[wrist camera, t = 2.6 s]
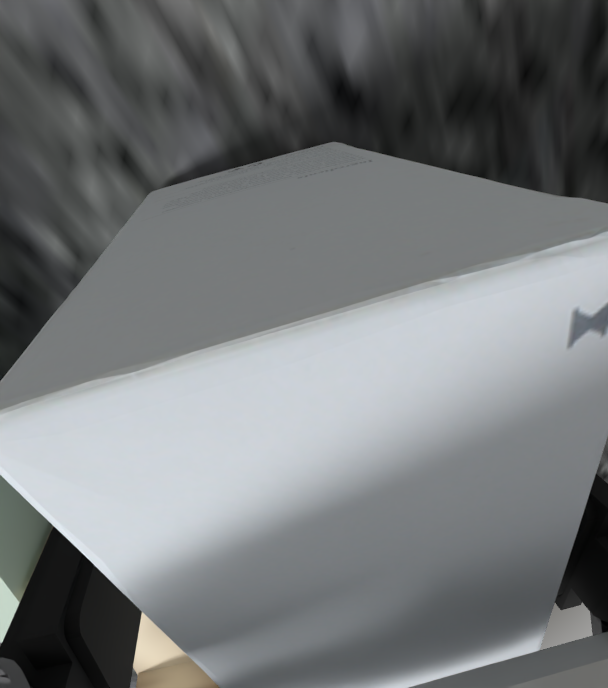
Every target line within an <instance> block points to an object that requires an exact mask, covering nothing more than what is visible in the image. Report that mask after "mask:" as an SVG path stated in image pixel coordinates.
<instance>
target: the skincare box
mask: <svg viewBox="0 0 608 688" xmlns="http://www.w3.org/2000/svg"><path fill="white" fill-rule="evenodd" d="M607 436H608V203H603V202H598V201H593V200H588V199H584V198H571V197H564V196H557V195H552V194H548V193H543V192H538V191H533V190H528V189H524V188H520V187H516V186H512V185H507V184H503V183H499V182H495V181H492V180H488V179H484V178H480V177H475V176H471V175H467V174H462V173H458V172H454V171H450V170H446V169H442V168H438V167H434V166H430V165H426V164H421V163H417V162H413V161H409V160H405V159H400V158H396V157H392V156H388V155H384V154H380V153H377V152H373V151H367V150H365V149H358V148H355V147H353V146H348V145H347V144H343V143H338V142H330V143H326V144H323V145H319V146H315V147H311V148H308V149H304V150H300V151H296V152H292V153H289V154H285V155H281V156H277V157H274V158H270V159H266V160H263V161H259V162H255V163H252V164H248V165H244V166H241V167H237V168H233V169H229V170H226V171H222V172H218V173H215V174H211V175H207V176H204V177H200V178H197V179H193V180H189V181H186V182H183V183H179V184H176V185H172V186H169V187H165V188H162V189H159V190H156V191H153V192H151V193H150V194H148V196H147V197H146V198H145V200H144V201H143V202H142V204H141V205H140V206H139V207H138V208H137V210H136V211H135V212H134V214H133V215H132V216H131V218H130V219H129V220H128V222H127V223H126V224H125V225H124V226H123V228H122V229H121V230H120V231H119V233H118V234H117V236H116V237H115V238H114V240H113V241H112V242H111V243H110V245H109V246H108V247H107V248H106V250H105V251H104V252H103V253H102V255H101V256H100V257H99V258H98V260H97V261H96V262H95V264H94V265H93V266H92V267H91V269H90V270H89V271H88V272H87V274H86V275H85V276H84V277H83V279H82V280H81V281H80V283H79V284H78V285H77V287H76V288H75V289H74V290H73V291H72V292H71V293H70V295H69V296H68V297H67V299H66V300H65V301H64V302H63V304H62V305H61V306H60V307H59V308H58V309H57V311H56V312H55V313H54V314H53V315H52V317H51V318H50V319H49V321H48V322H47V323H46V324H45V326H44V327H43V328H42V329H41V331H40V332H39V333H38V335H37V336H36V337H35V338H34V340H33V341H32V342H31V344H30V345H29V346H28V347H27V349H26V350H25V351H24V352H23V354H22V355H21V356H20V357H19V359H18V360H17V361H16V362H15V364H14V365H13V366H12V368H11V369H10V370H9V371H8V373H7V374H6V375H5V376H4V378H3V379H2V380H1V381H0V475H1V476H2V477H3V478H4V479H5V480H6V481H7V482H8V483H9V484H10V485H11V486H12V487H13V488H15V489H16V490H17V491H18V492H19V493H20V494H21V495H22V496H23V497H24V498H25V499H26V500H27V501H28V502H29V503H30V504H31V505H32V506H33V507H34V508H35V509H36V510H37V511H38V512H39V513H41V514H42V515H43V516H44V517H45V518H46V519H47V520H48V521H49V522H50V523H51V524H52V525H53V526H54V527H55V528H56V529H57V530H58V531H59V532H60V533H62V534H63V535H64V536H65V537H66V538H67V539H68V540H69V541H70V542H71V543H72V544H73V545H74V546H75V547H76V548H77V549H78V550H79V551H80V552H81V553H82V554H83V555H84V556H86V557H87V558H88V559H89V560H90V561H91V562H92V563H93V564H94V565H95V566H96V567H97V568H98V569H99V570H100V571H101V572H102V573H103V574H104V575H105V576H106V577H107V578H108V579H109V580H110V581H111V582H112V583H113V584H114V585H115V586H116V587H117V588H118V589H119V590H120V591H121V592H122V593H123V594H124V595H125V596H127V597H128V598H129V599H130V600H131V601H132V602H133V603H134V604H135V605H136V606H137V607H138V608H139V609H140V610H141V611H142V612H143V613H144V614H145V615H146V616H147V617H148V618H149V619H150V620H151V621H152V622H153V623H154V624H155V625H156V626H157V627H158V628H159V629H160V630H161V631H163V632H164V633H165V634H166V635H167V636H168V637H169V638H170V639H171V640H172V641H173V642H174V643H175V644H176V645H177V646H178V647H179V648H180V649H181V650H182V651H183V652H184V653H186V654H187V655H188V656H189V657H190V658H191V659H192V660H193V661H194V662H195V663H196V664H197V665H198V666H199V667H200V668H201V669H202V670H203V671H204V672H205V673H206V674H207V675H208V676H209V677H210V678H211V679H212V680H213V681H214V682H215V683H216V684H217V685H218V686H219V687H220V688H409V687H412V686H416V685H419V684H423V683H426V682H430V681H433V680H437V679H440V678H444V677H447V676H451V675H454V674H458V673H461V672H465V671H468V670H472V669H475V668H479V667H482V666H486V665H489V664H493V663H496V662H500V661H504V660H507V659H511V658H514V657H518V656H522V655H525V654H529V653H532V652H536V651H540V647H541V644H542V641H543V637H544V634H545V631H546V628H547V624H548V622H549V618H550V615H551V612H552V609H553V606H554V603H555V600H556V597H557V593H558V590H559V587H560V584H561V581H562V578H563V575H564V572H565V569H566V566H567V563H568V560H569V557H570V554H571V550H572V547H573V544H574V541H575V538H576V535H577V532H578V529H579V526H580V522H581V519H582V516H583V513H584V510H585V507H586V503H587V500H588V497H589V494H590V491H591V487H592V484H593V481H594V478H595V475H596V472H597V468H598V465H599V462H600V459H601V455H602V452H603V449H604V446H605V443H606V439H607Z"/></svg>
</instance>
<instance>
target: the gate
mask: <svg viewBox="0 0 608 688" xmlns="http://www.w3.org/2000/svg"><path fill="white" fill-rule="evenodd" d="M52 527H53V525H52V524H51V523H50V522H49V521H48V520H47V519H46V518H45V517H44V516H43V515H42V514H41V513H39V512H38V511H37V510H36V509H35V508H34V507H33V506H32V505H31V504H30V503H29V502H28V501H27V500H26V499H25V498H24V497H23V496H22V495H21V494H20V493H19V492H18V491H17V490H16V489H15V488H13V487H12V486H11V485H10V484H9V483H8V482H7V481H6V480H5V479H4V478H3V477H2V476H1V475H0V642H1V643H2V642H3V639H4V637H5V635H6V633H7V630H8V628H9V626H10V624H11V621H12V619H13V617H14V614H15V612H16V610H17V608H18V605H19V603H20V601H21V599H22V596H23V594H24V591H25V589H26V587H27V584H28V582H29V580H30V577H31V575H32V573H33V571H34V568H35V566H36V564H37V561H38V559H39V557H40V554H41V552H42V550H43V547H44V545H45V543H46V541H47V538H48V536H49V534H50V531H51V529H52Z"/></svg>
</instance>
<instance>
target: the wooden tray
mask: <svg viewBox="0 0 608 688" xmlns="http://www.w3.org/2000/svg"><path fill="white" fill-rule="evenodd" d="M53 527H54V526H53ZM53 527H52V529H53ZM52 529H51V530H52ZM50 533H51V531H50ZM49 535H50V534H49ZM48 537H49V536H48ZM47 540H48V538H47ZM46 542H47V541H46ZM45 544H46V543H45ZM44 546H45V545H44ZM43 549H44V547H43ZM42 551H43V550H42ZM41 553H42V552H41ZM40 555H41V554H40ZM39 558H40V557H39ZM38 560H39V559H38ZM37 562H38V561H37ZM36 565H37V564H36ZM35 567H36V566H35ZM34 569H35V568H34ZM32 574H33V573H32ZM31 576H32V575H31ZM30 578H31V577H30ZM28 583H29V582H28ZM27 585H28V584H27ZM24 592H25V591H24ZM133 668H134V669H135V671H136V673H137V675H138V679H137V685H136V688H220V687H219V686H218V685H217V684H216V683H215V682H214V681H213V680H212V679H211V678H210V677H209V676H208V675H207V674H206V673H205V672H204V671H203V670H202V669H201V668H200V667H199V666H198V665H197V664H196V663H195V662H194V661H193V660H192V659H191V658H190V657H189V656H188V655H187V654H186V653H184V652H183V651H182V650H181V649H180V648H179V647H178V646H177V645H176V644H175V643H174V642H173V641H172V640H171V639H170V638H169V637H168V636H167V635H166V634H165V633H164V632H163V631H161V630H160V629H159V628H158V627H157V626H156V625H155V624H154V623H153V622H152V621H151V620H150V619H149V618H148V617H147V616H146V615H145V614H144V613H143V612H142V615H141V621H140V627H139V633H138V639H137V645H136V651H135V657H134V663H133Z"/></svg>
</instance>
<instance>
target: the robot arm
mask: <svg viewBox="0 0 608 688" xmlns="http://www.w3.org/2000/svg"><path fill="white" fill-rule="evenodd" d="M582 602H583V603H584V605H585V606H586V607H587V608H588V610H589V611H590V614H591V624H592V632H593V636H590V637H586V638H583V639H579V640H575V641H572V642H568V643H565V644H561V645H558V646H554V647H550V648H547V649H543V650H540V651H536V652H532V653H529V654H525V655H522V656H518V657H514V658H511V659H507V660H504V661H500V662H496V663H493V664H489V665H486V666H482V667H479V668H475V669H472V670H468V671H465V672H461V673H458V674H454V675H451V676H447V677H444V678H440V679H437V680H433V681H430V682H426V683H423V684H419V685H416V686H412V687H409V688H608V484H607V483H606V482H605V481H604V480H603V479H601V478H600V477H599V476H598V475H597V474H596V475H595V478H594V481H593V484H592V487H591V491H590V494H589V497H588V500H587V503H586V507H585V510H584V513H583V516H582V519H581V522H580V526H579V529H578V532H577V535H576V538H575V541H574V544H573V547H572V550H571V554H570V557H569V560H568V563H567V566H566V569H565V572H564V575H563V578H562V581H561V584H560V587H559V590H558V593H557V597H556V600H555V603H556V604H557V606H558V607H559V608H560V610H563V609H567V608H571V607H574V606H578V605H581V603H582ZM141 615H142V611H141V610H140V609H139V608H138V607H137V606H136V605H135V604H134V603H133V602H132V601H131V600H130V599H129V598H128V597H127V596H125V595H124V594H123V593H122V592H121V591H120V590H119V589H118V588H117V587H116V586H115V585H114V584H113V583H112V582H111V581H110V580H109V579H108V578H107V577H106V576H105V575H104V574H103V573H102V572H101V571H100V570H99V569H98V568H97V567H96V566H95V565H94V564H93V563H92V562H91V561H90V560H89V559H88V558H87V557H86V556H84V555H83V554H82V553H81V552H80V551H79V550H78V549H77V548H76V547H75V546H74V545H73V544H72V543H71V542H70V541H69V540H68V539H67V538H66V537H65V536H64V535H63V534H62V533H60V532H59V531H58V530H57V529H56V528H55V527H53V529H52V530H51V533H50V535H49V537H48V540H47V542H46V544H45V546H44V549H43V551H42V553H41V555H40V558H39V560H38V562H37V565H36V567H35V569H34V571H33V574H32V576H31V578H30V580H29V583H28V585H27V587H26V589H25V592H24V594H23V596H22V599H21V601H20V603H19V605H18V608H17V610H16V612H15V614H14V617H13V619H12V621H11V624H10V626H9V628H8V630H7V633H6V635H5V637H4V639H3V642H2V644H1V646H0V688H130V682H131V676H132V669H133V663H134V657H135V651H136V645H137V639H138V633H139V627H140V621H141Z"/></svg>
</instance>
